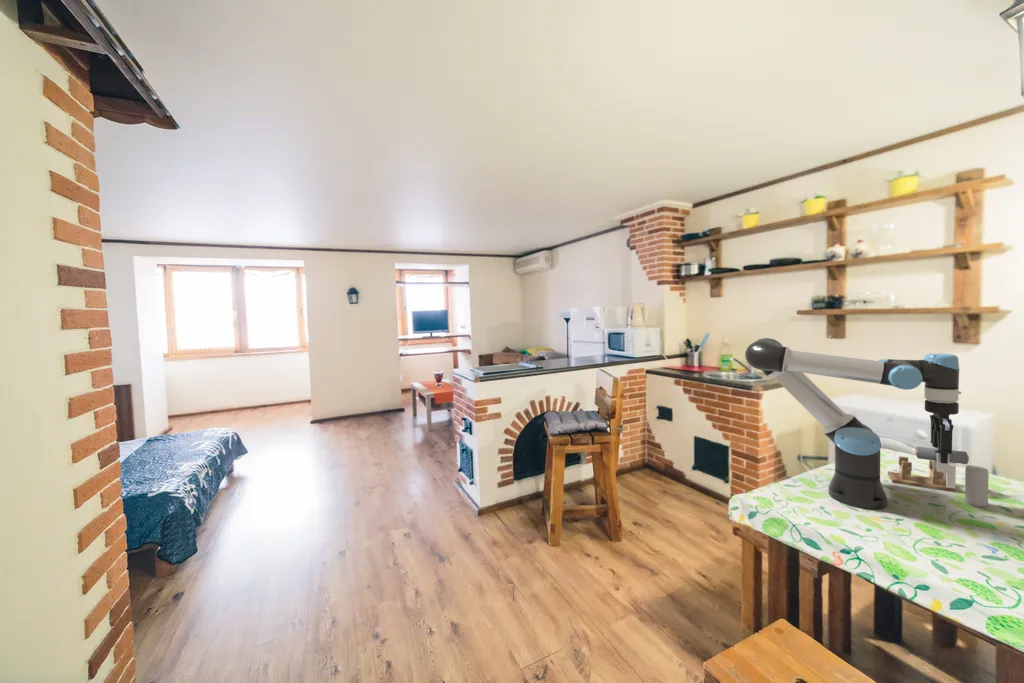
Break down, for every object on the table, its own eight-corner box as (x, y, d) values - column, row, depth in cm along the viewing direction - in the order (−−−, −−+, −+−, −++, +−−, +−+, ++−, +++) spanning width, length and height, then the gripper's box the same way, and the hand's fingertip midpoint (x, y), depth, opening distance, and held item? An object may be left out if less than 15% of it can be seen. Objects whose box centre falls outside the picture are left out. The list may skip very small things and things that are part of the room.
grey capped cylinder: (917, 459, 130) (917, 448, 130) (914, 456, 133) (914, 444, 133) (970, 466, 123) (970, 454, 123) (965, 462, 126) (965, 450, 126)
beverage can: (992, 507, 122) (993, 471, 122) (974, 507, 123) (975, 470, 123) (977, 500, 127) (978, 465, 126) (960, 500, 128) (960, 465, 127)
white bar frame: (946, 487, 135) (947, 453, 134) (939, 478, 142) (939, 445, 141) (955, 488, 133) (956, 454, 133) (947, 479, 140) (947, 446, 140)
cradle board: (892, 482, 143) (892, 461, 142) (887, 473, 150) (887, 453, 149) (956, 492, 133) (957, 469, 133) (948, 482, 140) (948, 461, 140)
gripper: (967, 407, 118) (966, 481, 119) (949, 396, 132) (949, 463, 133) (932, 405, 123) (931, 476, 124) (918, 394, 136) (918, 459, 138)
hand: (940, 469), depth 128 cm, fingers closed on grey capped cylinder, 4 cm apart
